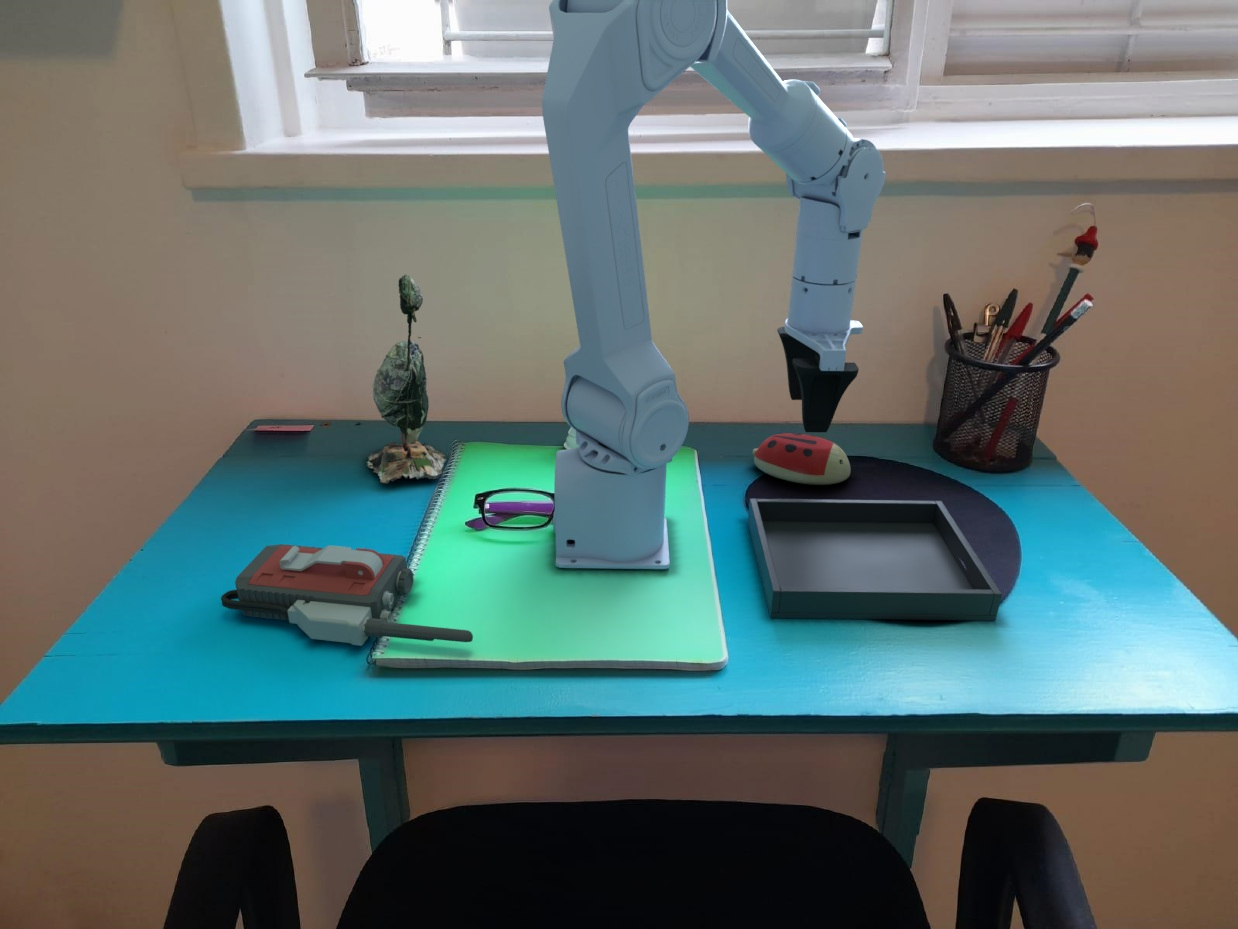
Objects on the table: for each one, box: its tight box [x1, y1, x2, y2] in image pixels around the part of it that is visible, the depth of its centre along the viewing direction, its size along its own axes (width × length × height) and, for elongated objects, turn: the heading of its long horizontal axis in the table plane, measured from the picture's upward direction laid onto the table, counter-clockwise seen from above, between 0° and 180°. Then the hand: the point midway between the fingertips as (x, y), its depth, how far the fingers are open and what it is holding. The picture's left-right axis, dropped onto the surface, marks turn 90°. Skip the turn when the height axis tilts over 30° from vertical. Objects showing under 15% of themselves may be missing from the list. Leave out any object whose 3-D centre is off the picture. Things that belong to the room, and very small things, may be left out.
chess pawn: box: [563, 426, 579, 450], centre depth 91 cm, size 3×3×5 cm
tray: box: [747, 498, 1003, 622], centre depth 72 cm, size 17×14×2 cm
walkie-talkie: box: [220, 543, 474, 647], centre depth 66 cm, size 9×4×20 cm
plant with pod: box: [366, 273, 447, 484], centre depth 84 cm, size 8×11×20 cm
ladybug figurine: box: [751, 432, 851, 486], centre depth 87 cm, size 7×10×4 cm
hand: (807, 414), depth 85 cm, fingers open, 7 cm apart
